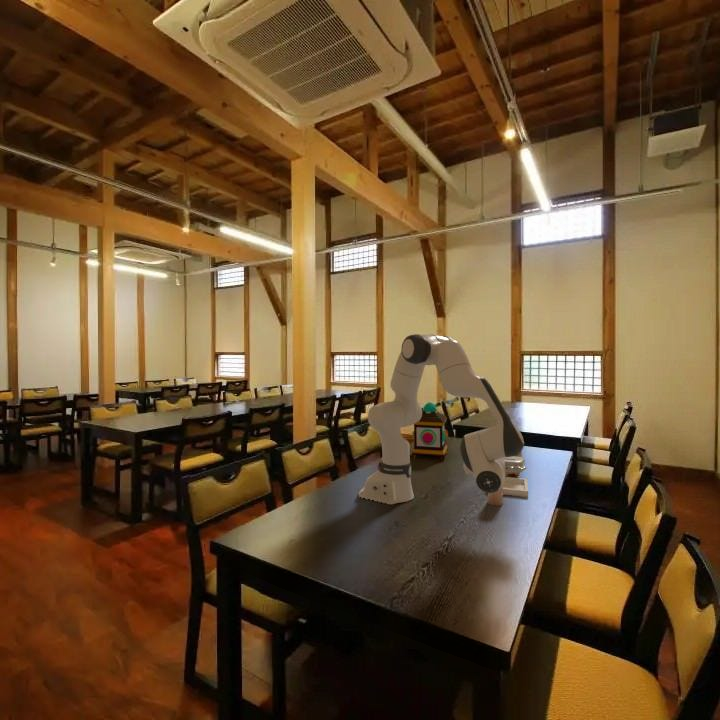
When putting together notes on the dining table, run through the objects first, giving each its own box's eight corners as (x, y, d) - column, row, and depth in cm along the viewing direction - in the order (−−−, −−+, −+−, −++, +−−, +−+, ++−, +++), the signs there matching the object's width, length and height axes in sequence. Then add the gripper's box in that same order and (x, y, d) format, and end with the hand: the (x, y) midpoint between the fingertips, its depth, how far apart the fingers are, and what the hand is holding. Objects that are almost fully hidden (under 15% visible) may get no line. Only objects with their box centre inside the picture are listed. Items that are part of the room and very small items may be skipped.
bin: (486, 492, 168) (486, 486, 168) (488, 480, 183) (488, 475, 183) (528, 497, 162) (528, 491, 162) (527, 484, 177) (527, 478, 177)
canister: (487, 504, 156) (487, 468, 155) (488, 499, 161) (488, 464, 160) (502, 506, 154) (502, 469, 153) (503, 501, 159) (503, 465, 158)
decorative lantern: (415, 450, 237) (415, 399, 236) (450, 452, 231) (450, 400, 230) (409, 459, 218) (408, 404, 217) (446, 462, 212) (446, 405, 211)
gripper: (526, 459, 128) (525, 449, 141) (459, 455, 136) (464, 445, 148) (526, 479, 128) (525, 467, 141) (460, 473, 136) (465, 462, 149)
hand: (493, 456), depth 145 cm, fingers open, 8 cm apart
